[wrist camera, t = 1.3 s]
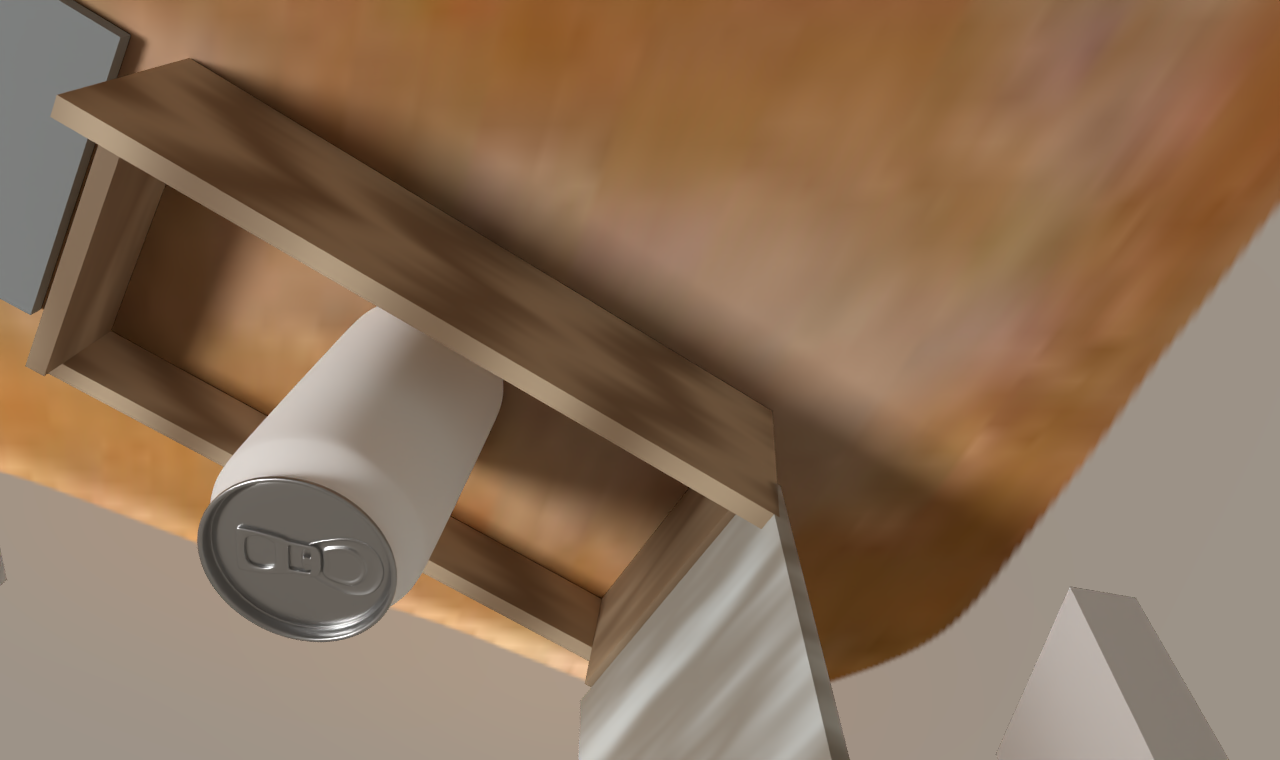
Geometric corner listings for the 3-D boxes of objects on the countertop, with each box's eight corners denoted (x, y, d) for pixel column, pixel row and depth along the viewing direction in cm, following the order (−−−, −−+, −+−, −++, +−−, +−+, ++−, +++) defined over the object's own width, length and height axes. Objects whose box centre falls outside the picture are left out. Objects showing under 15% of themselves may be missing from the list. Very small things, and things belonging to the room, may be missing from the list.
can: (499, 457, 38) (407, 672, 27) (342, 428, 38) (189, 632, 27) (514, 310, 35) (416, 488, 24) (343, 280, 35) (172, 444, 25)
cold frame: (88, 335, 37) (-1359, 1293, 12) (189, 57, 32) (-2069, 684, 6) (673, 652, 42) (570, 1848, 16) (846, 456, 37) (1103, 1766, 11)
